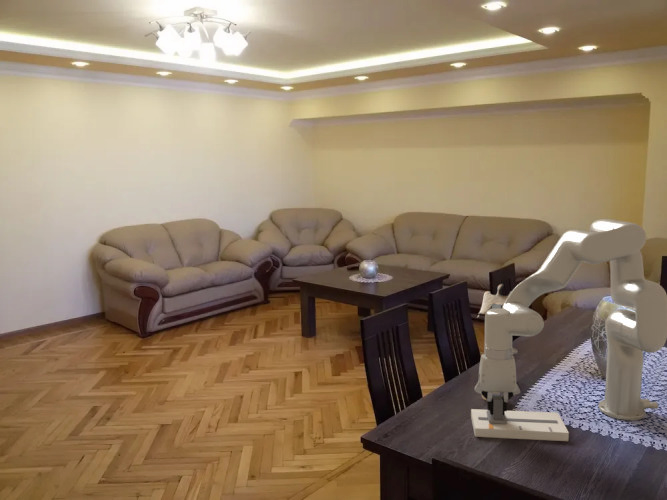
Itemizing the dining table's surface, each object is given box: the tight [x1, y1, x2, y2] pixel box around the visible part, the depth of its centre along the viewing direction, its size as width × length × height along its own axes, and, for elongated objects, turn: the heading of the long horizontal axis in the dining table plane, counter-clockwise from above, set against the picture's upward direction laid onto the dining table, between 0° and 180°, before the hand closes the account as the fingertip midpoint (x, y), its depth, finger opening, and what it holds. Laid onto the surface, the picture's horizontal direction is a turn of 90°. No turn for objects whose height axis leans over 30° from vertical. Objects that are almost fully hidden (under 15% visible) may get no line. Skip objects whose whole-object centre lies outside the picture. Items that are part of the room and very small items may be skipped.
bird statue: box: [476, 283, 512, 319], centre depth 186 cm, size 17×13×35 cm
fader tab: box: [487, 392, 507, 424], centre depth 157 cm, size 5×6×7 cm
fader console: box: [470, 408, 570, 442], centre depth 157 cm, size 25×12×3 cm, turn 81°
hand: (496, 412), depth 157 cm, fingers closed on fader tab, 2 cm apart
